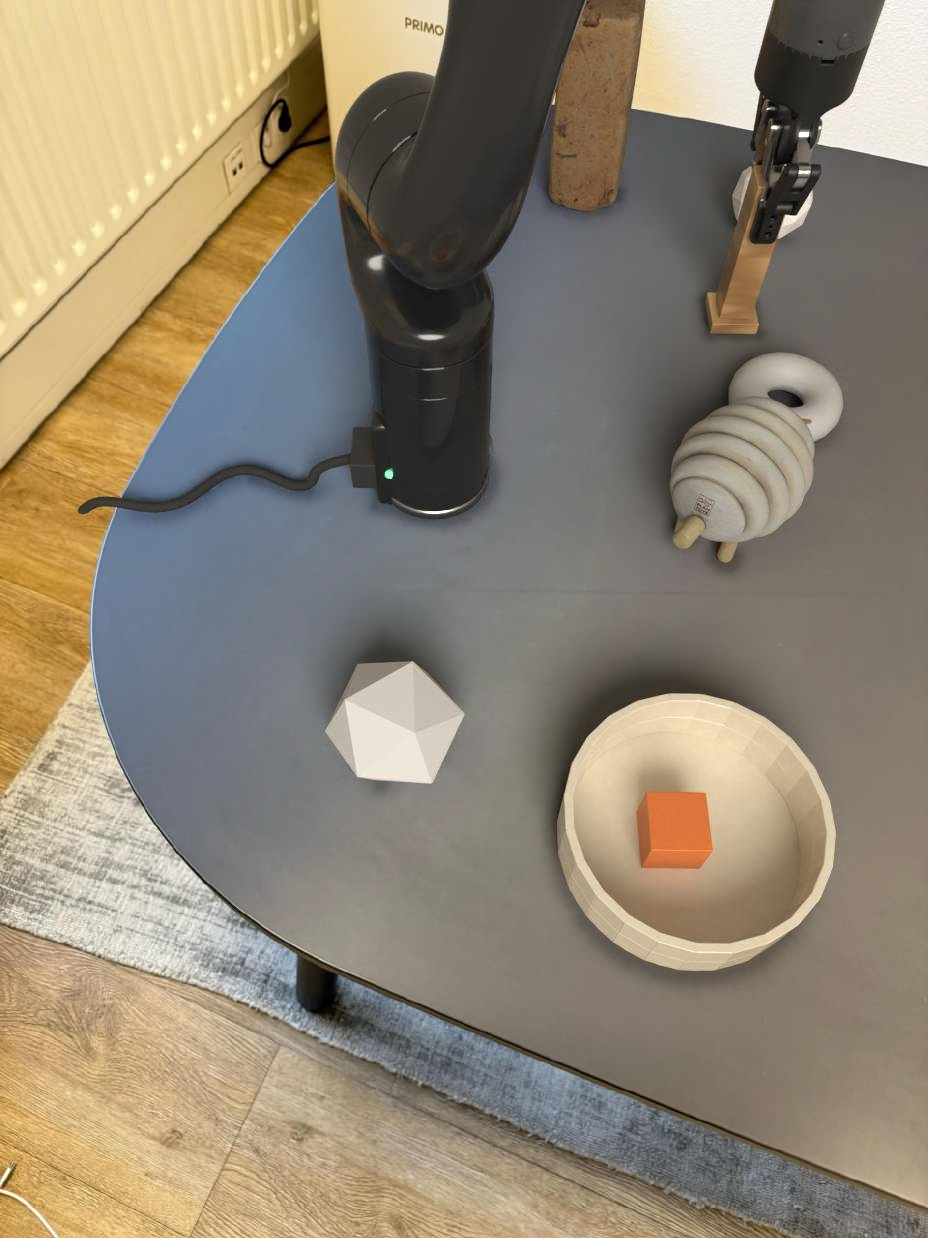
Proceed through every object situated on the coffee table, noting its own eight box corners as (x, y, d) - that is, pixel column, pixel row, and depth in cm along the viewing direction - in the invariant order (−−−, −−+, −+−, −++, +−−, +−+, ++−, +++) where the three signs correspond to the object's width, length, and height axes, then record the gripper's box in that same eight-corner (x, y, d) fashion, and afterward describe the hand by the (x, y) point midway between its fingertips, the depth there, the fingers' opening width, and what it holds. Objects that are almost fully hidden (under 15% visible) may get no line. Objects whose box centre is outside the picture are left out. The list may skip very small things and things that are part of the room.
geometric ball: (765, 241, 103) (822, 176, 99) (776, 266, 97) (838, 198, 93) (711, 197, 101) (767, 129, 97) (720, 220, 95) (780, 148, 91)
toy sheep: (819, 482, 83) (865, 390, 74) (734, 623, 76) (773, 541, 67) (708, 430, 86) (739, 335, 77) (616, 561, 79) (638, 475, 70)
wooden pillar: (709, 333, 92) (751, 192, 79) (704, 301, 95) (743, 159, 82) (755, 334, 92) (804, 193, 79) (749, 302, 95) (796, 159, 82)
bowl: (561, 970, 63) (570, 951, 58) (552, 727, 72) (559, 691, 66) (826, 974, 63) (859, 955, 58) (785, 730, 72) (810, 694, 66)
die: (424, 674, 75) (333, 625, 68) (506, 708, 68) (416, 658, 61) (375, 775, 74) (279, 737, 66) (454, 819, 67) (356, 782, 60)
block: (612, 222, 101) (643, 22, 83) (541, 211, 101) (557, 11, 84) (626, 159, 106) (659, -41, 89) (559, 149, 107) (578, -51, 90)
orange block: (640, 868, 66) (650, 850, 62) (636, 811, 68) (645, 791, 64) (699, 869, 66) (713, 851, 62) (693, 812, 68) (706, 792, 64)
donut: (847, 453, 85) (822, 369, 90) (861, 428, 82) (835, 341, 87) (734, 456, 85) (715, 371, 90) (744, 430, 82) (724, 344, 87)
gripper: (755, -30, 73) (706, 175, 88) (784, 77, 66) (725, 281, 81) (854, -29, 73) (788, 176, 88) (894, 78, 66) (814, 282, 81)
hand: (758, 225), depth 85 cm, fingers open, 3 cm apart
